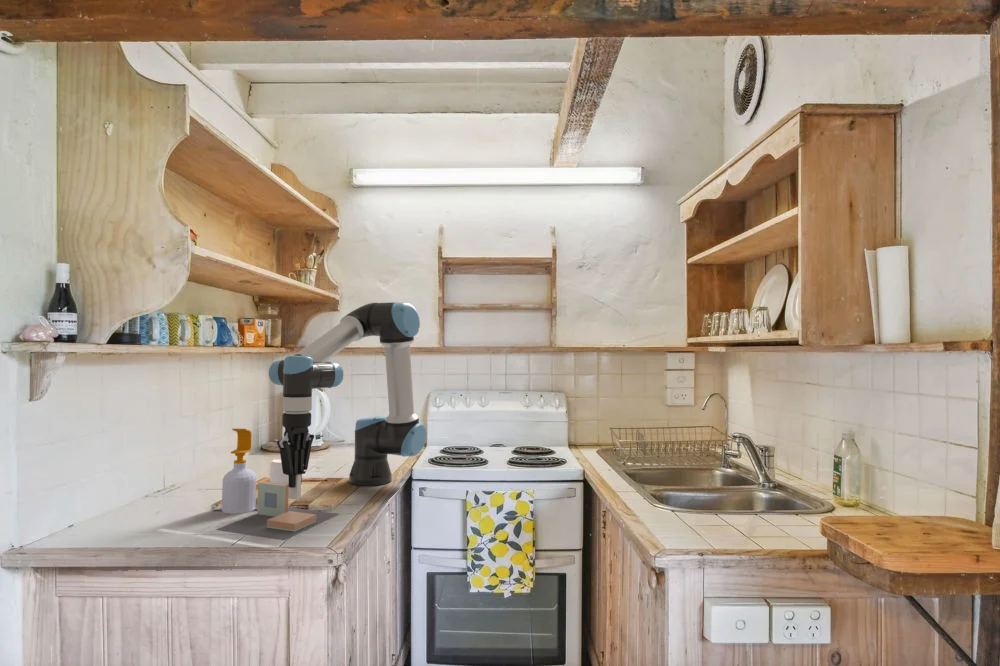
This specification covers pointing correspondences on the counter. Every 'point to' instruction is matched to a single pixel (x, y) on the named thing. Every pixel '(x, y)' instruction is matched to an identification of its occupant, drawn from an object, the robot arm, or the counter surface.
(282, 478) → the beverage can
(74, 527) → the counter surface
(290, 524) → the tile
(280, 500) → the tile
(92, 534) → the counter surface
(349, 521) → the counter surface
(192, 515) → the counter surface
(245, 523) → the mat
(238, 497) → the soap bottle
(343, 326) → the robot arm
